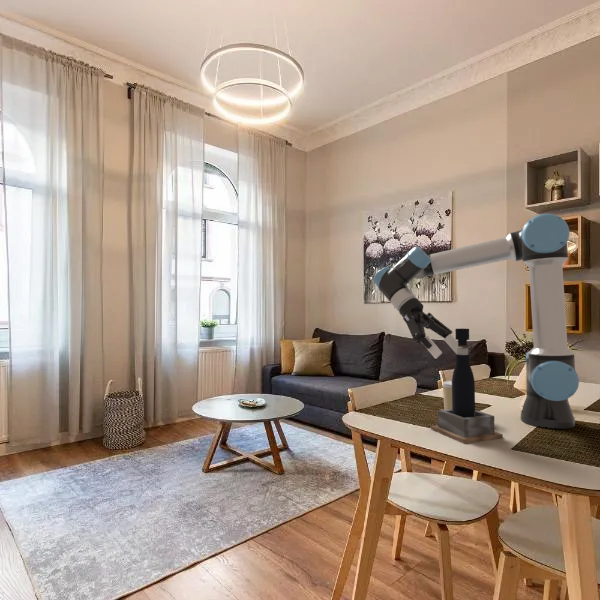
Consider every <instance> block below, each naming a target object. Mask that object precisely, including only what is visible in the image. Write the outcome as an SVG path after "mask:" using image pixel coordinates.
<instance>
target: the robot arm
mask: <svg viewBox="0 0 600 600" xmlns="http://www.w3.org/2000/svg"><path fill="white" fill-rule="evenodd" d="M569 239H570V228H569V226H568V223H567V221H565V220H564V219H563V218H562V217H561V216H559V215H557V214H554V213H542V214H538V215H536V216H534V217H532V218H530V219H529V220H527V221H526V223H525V224H524V225H523V227H522V229H520V230H517V231H513V232H510V233H508V235H506V237H500V238H496V239H491V240H488V241H487V240H486V241H482V242H479V243H474V244H470V245H466V246H462V247H457V248H453V249H448V250H443V251H439V252H436V253H431V254H427V253H426V252H425V251H424V250H422V248H420V247H419V246H414V247H413V248H411V249H410V251H407V253H406V254H405V255H404V256H403V257H402V258H401V259H399V261H398V262H397V263H395V265H394V266H393V267H391V268H390V267H389V266H385V267H382V268H380V269H379V270H377V271H376V273H375V274H374V276H373V283H374V284H375V285H376V287H377V288H378V290H379V291H380V292H381V294H383V295H384V297H385V298H386V299H387V300H388V301H389V302H390V304H391V305H392V306H393V308H394V309H396V311H397V312H398V313H399V314H400V316H401V317H402V319H403V321H404V323H405V324H406V325H407V328H408V330H409V333H410V334H411V336H412V339H413V341H415V342H416V343H417V344H420V343H421V344H422V345H423V346H424V347H425V348H426V349H427V351H428V352H429V353H430V354H431V356H432V357H433V358H434V359H438V358H439V357H440V356H441V355H442V354H443V351H442V350H441V349H440V348H439V347H438V346H437V344H436V343H435V341H433V340H432V339H431V338H430V336H428V335H426V331H425V330H426V329H427V330H430V331H432V332H434V333H435V334H437V335H439V336H440V337H442V338H443V340H444V342H445V343H446V344H447V345H448V346H449V348H451V349H452V351H453V352H454V353H455V354H457V348H464V347H458V340H456V338H455V337H454V336H453V335H452V334H453V331H452V330H451V329H450V328H449V327H447V326H446V325H445V324H444V323H443V322H441V321H440V320H439V319H437V318H436V317H435V316H434V315H433V314H432V313H431V312H427V313H425V312H424V311H423V310H424V304H423V303H422V302H421V301H420V299H418V298H417V296H416V295H415V294H414V292H413V291H412V290H410V289H409V288H408V286H407V285H408V284H409V283H411V281H412V280H413V279H417V280H419V279H424V278H426V277H430V276H434V275H439V274H444V273H448V272H453V271H454V272H455V271H458V270H463V269H469V268H473V267H478V266H484V265H488V264H493V263H498V262H499V263H500V262H502V261H508V260H512V261H514V262H520V261H522V263H523V265H525V266H526V267H527V268H528V273H529V289H530V303H531V304H530V305H531V306H530V307H531V320H532V321H531V323H532V324H531V325H532V339H533V341H532V342H533V347H532V348H531V350H529V351H528V352H526V354H525V355H526V357H525V360H524V361H525V365H526V366H525V368H526V370H525V371H526V373H525V374H526V377H525V378H526V381H525V382H526V390H525V391H526V397H525V400H524V403H523V405H522V410H520V420H521V421H522V422H523V423H525V424H527V425H532V426H535V427H539V426H540V427H541V428H545V427H547V428H546V429H555V428H556V430H557V429H558V430H559V429H561V430H562V429H564V430H565V429H566V430H567V429H572V428H574V427H576V419H575V416H574V414H573V411H572V408H571V405H570V402H569V399H570V398H572V397H573V396H574V395H575V394H576V393H577V391H578V389H579V385H580V377H579V375H578V372H577V371H576V361H575V352H574V351H573V350H571V348H569V346H568V334H567V319H566V318H567V316H566V315H567V314H566V304H565V303H566V301H565V286H564V285H565V284H564V273H563V271H564V269H563V265H564V264H565V263H566V262H567V261H568V260H569V252H568V241H569Z"/></svg>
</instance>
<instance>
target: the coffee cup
mask: <svg viewBox="0 0 600 600" xmlns="http://www.w3.org/2000/svg"><path fill="white" fill-rule="evenodd" d="M441 386H442V395H443V396H442V397H443V407H444V408H443V410H447V409H452V380H444V381H443V382H442V384H441Z"/></svg>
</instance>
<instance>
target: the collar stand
mask: <svg viewBox="0 0 600 600" xmlns="http://www.w3.org/2000/svg"><path fill="white" fill-rule="evenodd" d="M437 415H438V416H437V418H438V421H437V423H438V424H437V425H431V426H430V429H431V431H434V432H436V433H438V434H441V435H443V436H446V437H448V438H451V439H452V440H456V441H457V442H459V443H462V444H468V443H476V442H482V441H484V442H485V441H490V440H496V439H503V438H504V436H503V433H500V432H497V431H495V426H496V425H495V415H492V414H489V413H487V412H483V411H480V410H477V409H475V417H467V418H464V417H461V416H458V415H455V414H452V409H447V410H444V409H439V410H437Z"/></svg>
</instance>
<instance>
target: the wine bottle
mask: <svg viewBox="0 0 600 600" xmlns="http://www.w3.org/2000/svg"><path fill="white" fill-rule="evenodd" d="M454 330H455V331H454V332H455V340H456V341H457V342H458V347H463V348H457V354H456V353H455V354H456V355H455V362H456V363H455V366H454V369H453V372H452V378H451V381H452V414H455V415H458V416H461V417H464V418H467V417H475V410H476V391H475V390H476V386H475V385H476V383H475V378H474V377H475V376H474V372H473V369H472V367H471V363H470V362H471V361H470V354H469V348H467V347H468V341H469V340H470V329H469V328H455V329H454Z"/></svg>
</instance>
